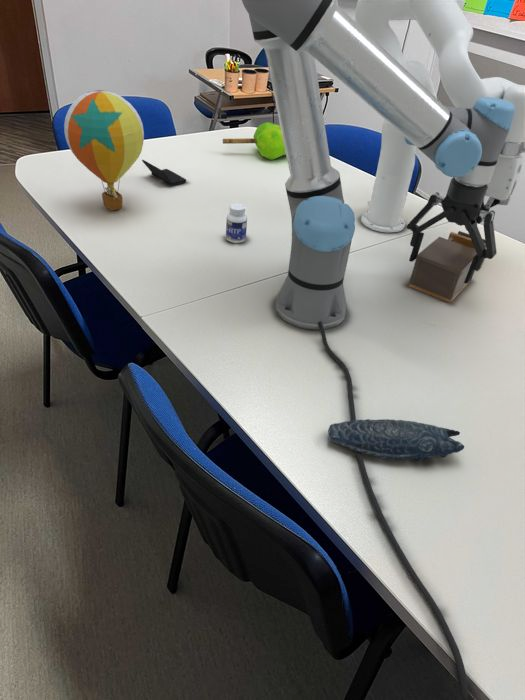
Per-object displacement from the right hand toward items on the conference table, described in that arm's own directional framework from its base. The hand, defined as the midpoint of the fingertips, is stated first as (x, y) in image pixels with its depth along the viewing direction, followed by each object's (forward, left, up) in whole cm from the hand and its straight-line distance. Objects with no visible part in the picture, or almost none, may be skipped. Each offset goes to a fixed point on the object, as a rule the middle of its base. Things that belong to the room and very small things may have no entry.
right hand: (478, 221), depth 129 cm
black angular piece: (-60, -72, -11) cm, 94 cm away
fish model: (+56, -47, -11) cm, 74 cm away
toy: (-40, -88, -11) cm, 97 cm away
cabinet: (+10, -13, -11) cm, 20 cm away
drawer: (+3, -4, -10) cm, 11 cm away
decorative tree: (-82, -34, -11) cm, 89 cm away
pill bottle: (-18, -58, -11) cm, 61 cm away
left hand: (+12, -16, -6) cm, 20 cm away
